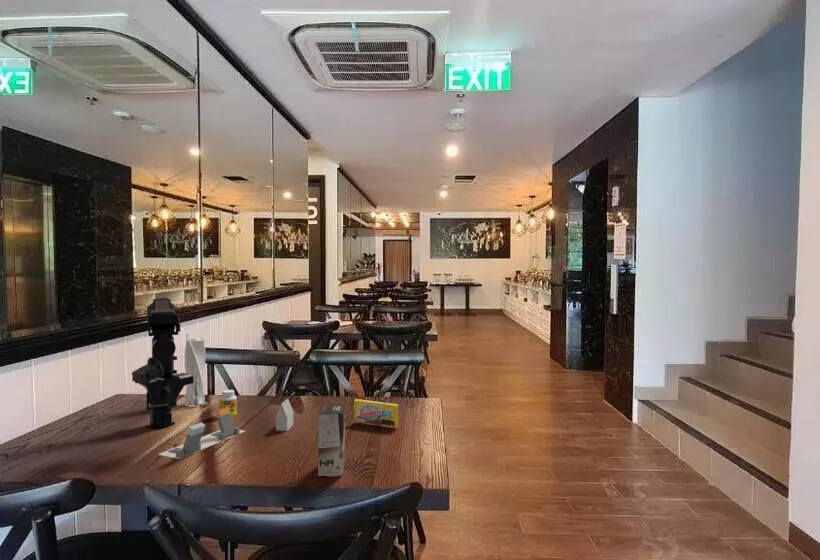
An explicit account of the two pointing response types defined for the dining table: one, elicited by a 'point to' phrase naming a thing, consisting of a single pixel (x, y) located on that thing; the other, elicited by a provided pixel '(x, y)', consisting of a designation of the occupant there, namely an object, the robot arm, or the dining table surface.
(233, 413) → the supplement bottle
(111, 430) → the dining table surface
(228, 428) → the lever
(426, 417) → the dining table surface
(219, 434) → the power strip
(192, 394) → the skyscraper
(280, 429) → the grey house block
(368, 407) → the candy box
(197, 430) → the lever
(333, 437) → the coffee box
